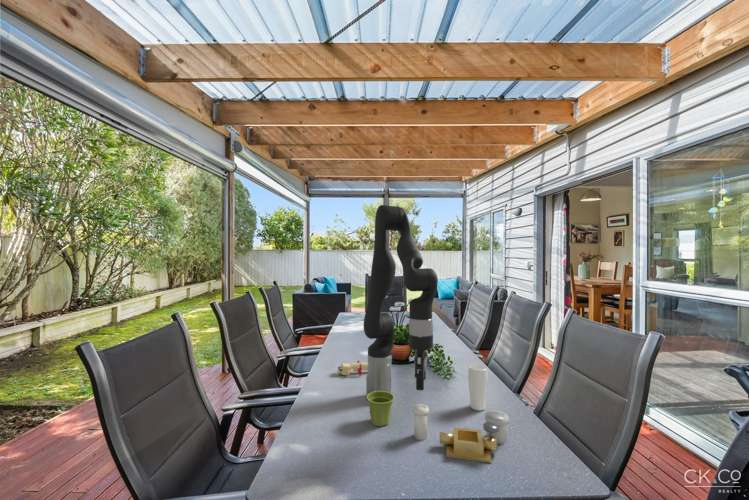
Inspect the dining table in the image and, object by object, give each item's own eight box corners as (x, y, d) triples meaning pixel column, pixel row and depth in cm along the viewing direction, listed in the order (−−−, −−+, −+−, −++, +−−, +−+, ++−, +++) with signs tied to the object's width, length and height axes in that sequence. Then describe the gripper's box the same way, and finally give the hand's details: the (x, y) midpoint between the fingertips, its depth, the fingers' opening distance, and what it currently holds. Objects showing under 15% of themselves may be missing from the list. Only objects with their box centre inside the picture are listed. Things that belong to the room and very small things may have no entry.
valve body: (439, 456, 96) (439, 429, 96) (440, 437, 106) (440, 412, 106) (501, 464, 92) (501, 436, 92) (496, 443, 102) (496, 418, 102)
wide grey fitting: (485, 443, 102) (486, 420, 102) (483, 431, 109) (483, 409, 109) (510, 446, 101) (510, 422, 101) (506, 433, 108) (506, 411, 108)
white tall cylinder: (488, 413, 121) (488, 371, 121) (468, 411, 123) (468, 369, 123) (486, 404, 128) (486, 364, 128) (467, 403, 129) (467, 363, 129)
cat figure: (386, 370, 168) (335, 370, 163) (387, 353, 168) (337, 351, 163) (391, 378, 158) (337, 377, 153) (392, 359, 158) (339, 358, 153)
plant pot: (397, 418, 118) (397, 393, 118) (389, 431, 109) (389, 404, 109) (372, 413, 121) (372, 389, 121) (362, 426, 112) (362, 400, 112)
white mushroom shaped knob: (411, 440, 104) (411, 410, 104) (413, 431, 109) (413, 403, 109) (428, 442, 103) (428, 412, 103) (429, 433, 108) (429, 404, 108)
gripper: (411, 326, 114) (411, 375, 114) (406, 337, 100) (406, 392, 100) (433, 327, 112) (434, 377, 112) (431, 338, 98) (432, 394, 98)
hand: (421, 384), depth 106 cm, fingers open, 8 cm apart
